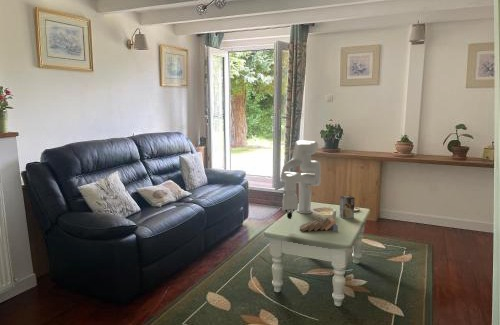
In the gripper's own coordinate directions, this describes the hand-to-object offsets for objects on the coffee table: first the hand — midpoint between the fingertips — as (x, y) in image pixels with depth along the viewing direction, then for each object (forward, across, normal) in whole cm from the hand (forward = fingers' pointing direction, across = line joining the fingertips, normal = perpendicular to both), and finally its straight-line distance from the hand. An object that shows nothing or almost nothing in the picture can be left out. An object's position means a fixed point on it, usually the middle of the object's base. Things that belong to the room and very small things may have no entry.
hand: (289, 218), depth 245 cm
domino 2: (+8, +12, -1) cm, 15 cm away
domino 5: (+8, +25, -1) cm, 26 cm away
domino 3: (+8, +17, -1) cm, 18 cm away
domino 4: (+8, +21, -1) cm, 23 cm away
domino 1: (+8, +8, -1) cm, 11 cm away
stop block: (+9, +31, -1) cm, 32 cm away
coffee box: (+10, +51, +23) cm, 57 cm away
